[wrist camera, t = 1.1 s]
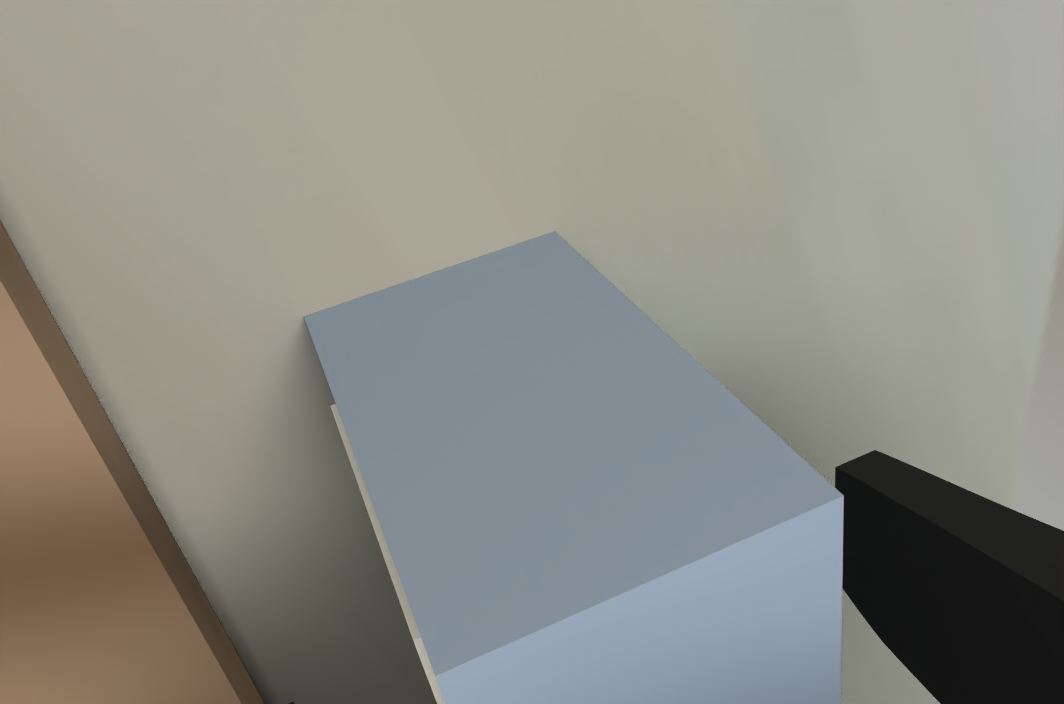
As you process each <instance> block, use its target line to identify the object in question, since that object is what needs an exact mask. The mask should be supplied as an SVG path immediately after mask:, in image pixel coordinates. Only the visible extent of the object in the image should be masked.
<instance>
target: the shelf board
mask: <svg viewBox="0 0 1064 704" xmlns="http://www.w3.org/2000/svg"><path fill="white" fill-rule="evenodd" d="M0 704H264V702H263V700H262V698H261V696H260V694H259V693H258V691H257V689H256V687H255V685H254V684H253V682H252V680H251V678H250V676H249V674H248V673H247V671H246V669H245V667H244V665H243V663H242V662H241V660H240V658H239V656H238V654H237V652H236V651H235V649H234V647H233V645H232V643H231V642H230V640H229V638H228V636H227V634H226V632H225V631H224V629H223V627H222V625H221V623H220V621H219V620H218V618H217V616H216V614H215V612H214V610H213V609H212V607H211V605H210V603H209V601H208V600H207V598H206V596H205V594H204V592H203V590H202V589H201V587H200V585H199V583H198V581H197V579H196V578H195V576H194V574H193V572H192V570H191V568H190V567H189V565H188V563H187V561H186V559H185V558H184V556H183V554H182V552H181V550H180V548H179V547H178V545H177V543H176V541H175V539H174V537H173V536H172V534H171V532H170V530H169V528H168V526H167V525H166V523H165V521H164V519H163V517H162V516H161V514H160V512H159V510H158V508H157V506H156V505H155V503H154V501H153V499H152V497H151V495H150V494H149V492H148V490H147V488H146V486H145V484H144V483H143V481H142V479H141V477H140V475H139V474H138V472H137V470H136V468H135V466H134V464H133V463H132V461H131V459H130V457H129V455H128V453H127V452H126V450H125V448H124V446H123V444H122V442H121V441H120V439H119V437H118V435H117V433H116V432H115V430H114V428H113V426H112V424H111V422H110V421H109V419H108V417H107V415H106V413H105V411H104V410H103V408H102V406H101V404H100V402H99V401H98V399H97V397H96V395H95V393H94V391H93V390H92V388H91V386H90V384H89V382H88V380H87V379H86V377H85V375H84V373H83V371H82V369H81V368H80V366H79V364H78V362H77V360H76V359H75V357H74V355H73V353H72V351H71V349H70V348H69V346H68V344H67V342H66V340H65V338H64V337H63V335H62V333H61V331H60V329H59V327H58V326H57V324H56V322H55V320H54V318H53V317H52V315H51V313H50V311H49V309H48V307H47V306H46V304H45V302H44V300H43V298H42V296H41V295H40V293H39V291H38V289H37V287H36V285H35V284H34V282H33V280H32V278H31V276H30V275H29V273H28V271H27V269H26V267H25V265H24V264H23V262H22V260H21V258H20V256H19V254H18V253H17V251H16V249H15V247H14V245H13V243H12V242H11V240H10V238H9V236H8V234H7V233H6V231H5V229H4V227H3V225H2V223H1V222H0Z"/></svg>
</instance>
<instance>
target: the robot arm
mask: <svg viewBox="0 0 1064 704" xmlns="http://www.w3.org/2000/svg"><path fill="white" fill-rule="evenodd" d="M835 488H836V489H837V490H838V491H839V492H840V493H841V494H843V495H844V512H843V578H842V588H843V589H844V591H845V592H846V594H847V595H848V596H849V598H850V599H851V600H852V602H853V603H854V605H855V606H856V607H857V609H858V610H859V612H860V613H861V614H862V616H863V617H864V618H865V619H866V621H867V622H868V623H869V625H870V626H871V627H872V629H873V630H874V631H875V633H876V634H877V635H878V636H879V638H880V639H881V640H882V642H883V643H884V644H885V645H886V646H887V647H888V648H889V649H890V650H891V651H892V653H893V654H894V655H895V656H896V657H897V658H898V659H899V660H900V661H901V662H902V663H903V664H904V665H905V666H906V668H907V669H908V670H909V671H910V672H911V673H912V674H913V675H914V676H915V677H916V678H917V679H918V680H919V681H920V682H921V684H922V685H923V686H924V687H925V688H926V689H927V690H928V691H929V692H930V693H931V694H932V695H933V696H934V697H935V698H936V699H937V700H938V701H939V702H940V704H1064V531H1062V530H1060V529H1057V528H1055V527H1052V526H1050V525H1048V524H1045V523H1043V522H1040V521H1038V520H1036V519H1033V518H1031V517H1028V516H1026V515H1024V514H1021V513H1019V512H1017V511H1014V510H1012V509H1010V508H1007V507H1005V506H1003V505H1000V504H998V503H996V502H993V501H991V500H989V499H986V498H984V497H982V496H980V495H977V494H975V493H973V492H970V491H968V490H966V489H964V488H961V487H959V486H957V485H955V484H952V483H950V482H948V481H945V480H943V479H941V478H939V477H936V476H934V475H932V474H930V473H927V472H925V471H923V470H921V469H918V468H916V467H914V466H911V465H909V464H907V463H905V462H902V461H900V460H898V459H895V458H893V457H890V456H888V455H886V454H883V453H881V452H878V451H876V450H874V451H872V452H870V453H867V454H865V455H863V456H860V457H858V458H856V459H853V460H851V461H849V462H847V463H844V464H842V465H840V466H837V467H836V472H835ZM289 704H294V703H293V702H291V703H289Z"/></svg>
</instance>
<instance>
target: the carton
mask: <svg viewBox="0 0 1064 704" xmlns="http://www.w3.org/2000/svg"><path fill="white" fill-rule="evenodd" d="M304 318H305V321H306V324H307V327H308V329H309V332H310V335H311V337H312V340H313V343H314V346H315V348H316V351H317V354H318V357H319V359H320V362H321V365H322V368H323V370H324V373H325V376H326V378H327V381H328V384H329V387H330V389H331V392H332V395H333V398H334V400H335V403H336V404H334V405H331V406H330V407H331V410H332V413H333V415H334V418H335V421H336V424H337V427H338V429H339V432H340V435H341V438H342V441H343V444H344V446H345V449H346V452H347V455H348V458H349V460H350V463H351V466H352V469H353V472H354V475H355V477H356V480H357V483H358V486H359V489H360V492H361V494H362V497H363V500H364V503H365V506H366V508H367V511H368V514H369V517H370V520H371V523H372V525H373V528H374V531H375V534H376V537H377V540H378V542H379V545H380V548H381V551H382V554H383V556H384V559H385V562H386V565H387V568H388V571H389V573H390V576H391V579H392V582H393V585H394V588H395V590H396V593H397V596H398V599H399V602H400V604H401V607H402V610H403V613H404V616H405V619H406V621H407V624H408V627H409V630H410V633H411V636H412V638H413V641H414V644H415V646H416V649H417V652H418V654H419V657H420V660H421V662H422V665H423V668H424V670H425V673H426V675H427V678H428V681H429V683H430V686H431V689H432V691H433V694H434V697H435V699H436V702H437V704H841V644H842V578H843V512H844V495H843V494H841V493H840V492H839V491H838V490H837V489H836V488H835V487H834V486H833V485H832V484H830V483H829V482H828V481H827V480H826V479H825V478H824V477H823V476H822V475H821V474H820V473H818V472H817V471H816V470H815V469H814V468H813V467H812V466H811V465H810V464H809V463H808V462H806V461H805V460H804V459H803V458H802V457H801V456H800V455H799V454H798V453H797V452H796V451H794V450H793V449H792V448H791V447H790V446H789V445H788V444H787V443H786V442H785V441H783V440H782V439H781V438H780V437H779V436H778V435H777V434H776V433H775V432H774V431H773V430H771V429H770V428H769V427H768V426H767V425H766V424H765V423H764V422H763V421H762V420H761V419H759V418H758V417H757V416H756V415H755V414H754V413H753V412H752V411H751V410H750V409H749V408H747V407H746V406H745V405H744V404H743V403H742V402H741V401H740V400H739V399H738V398H736V397H735V396H734V395H733V394H732V393H731V392H730V391H729V390H728V389H727V388H726V387H724V386H723V385H722V384H721V383H720V382H719V381H718V380H717V379H716V378H715V377H714V376H712V375H711V374H710V373H709V372H708V371H707V370H706V369H705V368H704V367H703V366H702V365H700V364H699V363H698V362H697V361H696V360H695V359H694V358H693V357H692V356H691V355H690V354H688V353H687V352H686V351H685V350H684V349H683V348H682V347H681V346H680V345H679V344H677V343H676V342H675V341H674V340H673V339H672V338H671V337H670V336H669V335H668V334H667V333H665V332H664V331H663V330H662V329H661V328H660V327H659V326H658V325H657V324H656V323H655V322H653V321H652V320H651V319H650V318H649V317H648V316H647V315H646V314H645V313H644V312H643V311H641V310H640V309H639V308H638V307H637V306H636V305H635V304H634V303H633V302H632V301H630V300H629V299H628V298H627V297H626V296H625V295H624V294H623V293H622V292H621V291H620V290H618V289H617V288H616V287H615V286H614V285H613V284H612V283H611V282H610V281H609V280H608V279H606V278H605V277H604V276H603V275H602V274H601V273H600V272H599V271H598V270H597V269H596V268H594V267H593V266H592V265H591V264H590V263H589V262H588V261H587V260H586V259H585V258H584V257H582V256H581V255H580V254H579V253H578V252H577V251H576V250H575V249H574V248H573V247H571V246H570V245H569V244H568V243H567V242H566V241H565V240H564V239H563V238H562V237H561V236H559V235H558V234H557V233H556V232H552V233H549V234H546V235H543V236H540V237H537V238H534V239H531V240H528V241H525V242H522V243H519V244H516V245H513V246H510V247H507V248H504V249H501V250H498V251H495V252H492V253H489V254H487V255H484V256H481V257H478V258H475V259H472V260H469V261H466V262H463V263H460V264H457V265H454V266H451V267H448V268H445V269H442V270H439V271H436V272H433V273H430V274H427V275H424V276H421V277H419V278H416V279H413V280H410V281H407V282H404V283H401V284H398V285H395V286H392V287H389V288H386V289H383V290H380V291H377V292H374V293H371V294H368V295H365V296H362V297H359V298H356V299H353V300H350V301H348V302H345V303H342V304H339V305H336V306H333V307H330V308H327V309H324V310H321V311H318V312H315V313H312V314H309V315H306V316H304Z"/></svg>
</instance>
